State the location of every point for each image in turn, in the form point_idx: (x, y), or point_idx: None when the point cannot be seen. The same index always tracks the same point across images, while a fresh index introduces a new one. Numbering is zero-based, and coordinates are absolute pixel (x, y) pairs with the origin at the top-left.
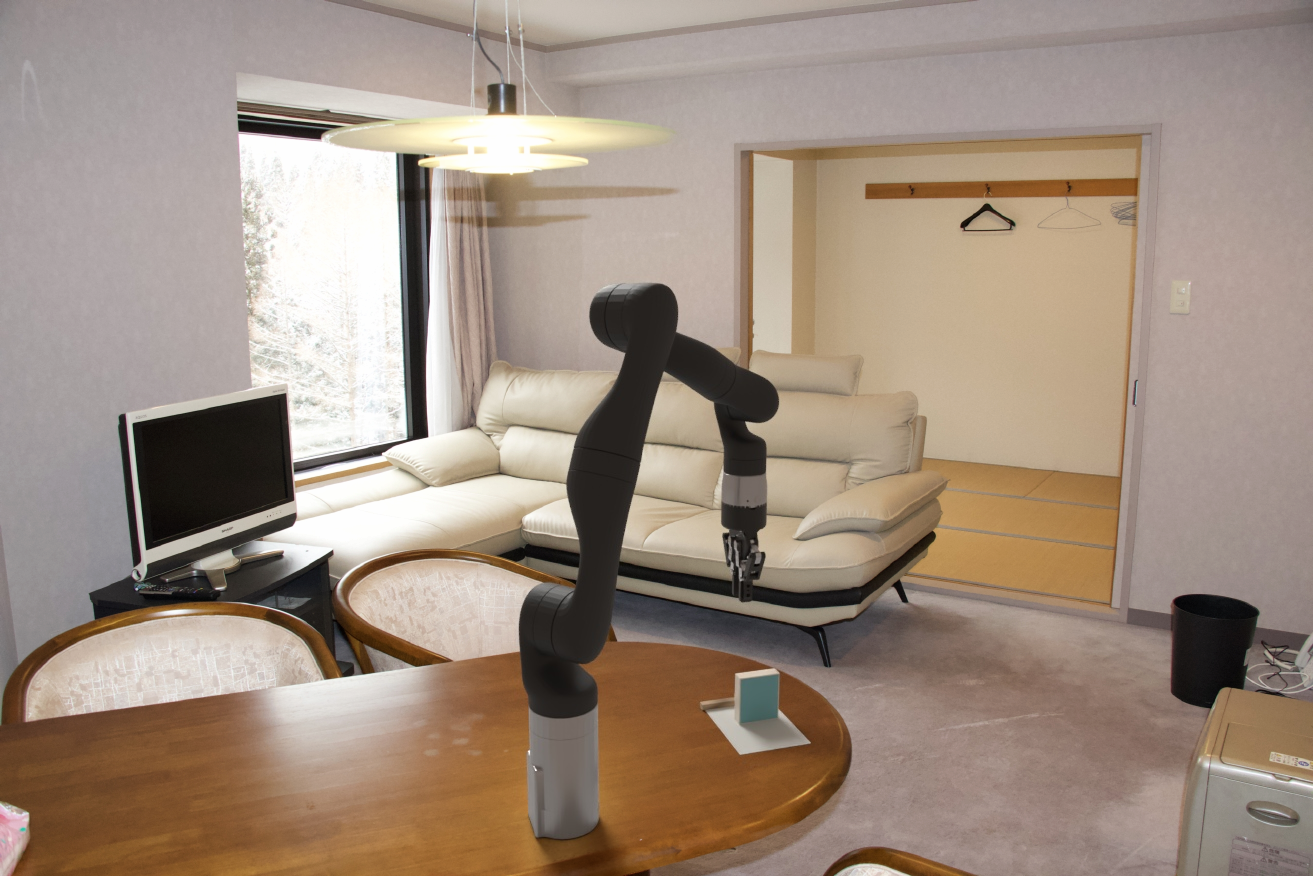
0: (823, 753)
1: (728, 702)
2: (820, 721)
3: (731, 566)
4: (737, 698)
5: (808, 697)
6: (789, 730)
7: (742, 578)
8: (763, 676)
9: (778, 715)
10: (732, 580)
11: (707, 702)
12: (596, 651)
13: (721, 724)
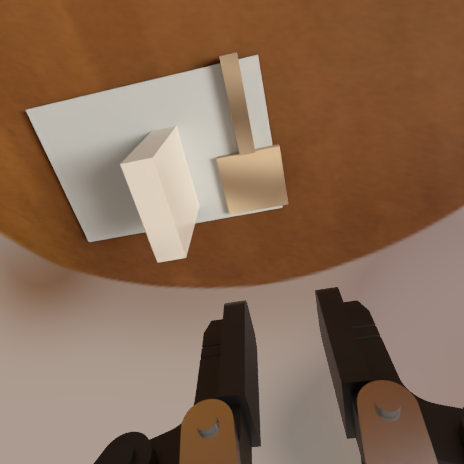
0: (77, 251)
1: (234, 125)
2: (184, 271)
3: (405, 438)
4: (149, 143)
5: (274, 275)
6: (131, 219)
7: (183, 432)
8: (144, 224)
9: None
10: (355, 347)
11: (231, 72)
12: None
13: (150, 92)
